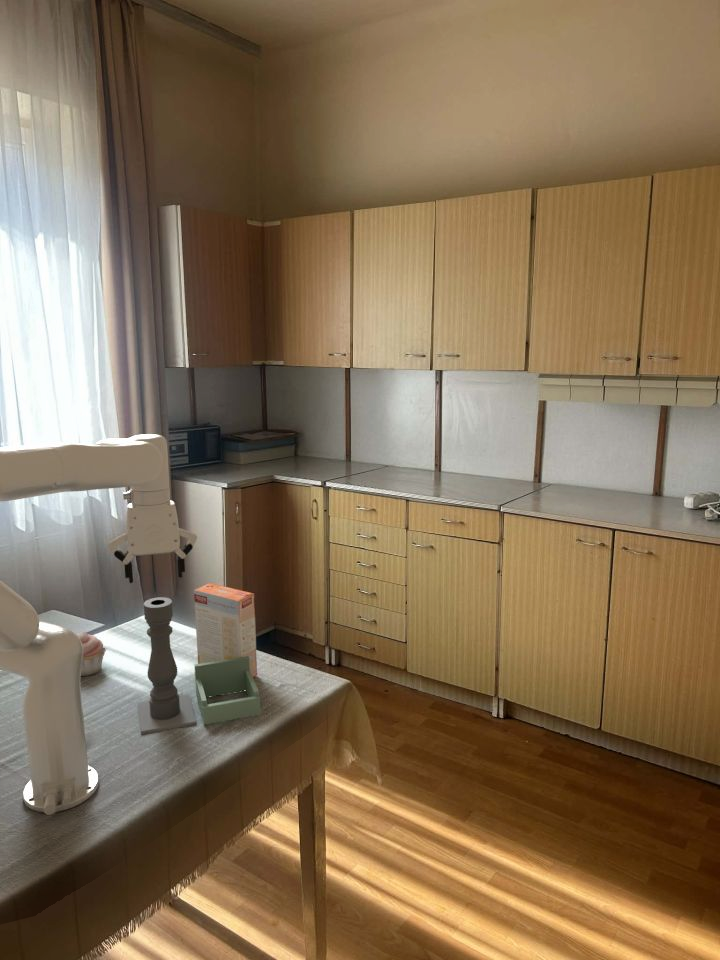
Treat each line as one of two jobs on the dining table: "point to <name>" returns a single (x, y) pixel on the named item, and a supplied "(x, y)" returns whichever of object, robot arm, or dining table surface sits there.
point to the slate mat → (154, 725)
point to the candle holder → (161, 659)
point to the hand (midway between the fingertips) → (155, 578)
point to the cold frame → (226, 689)
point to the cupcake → (91, 654)
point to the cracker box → (225, 624)
